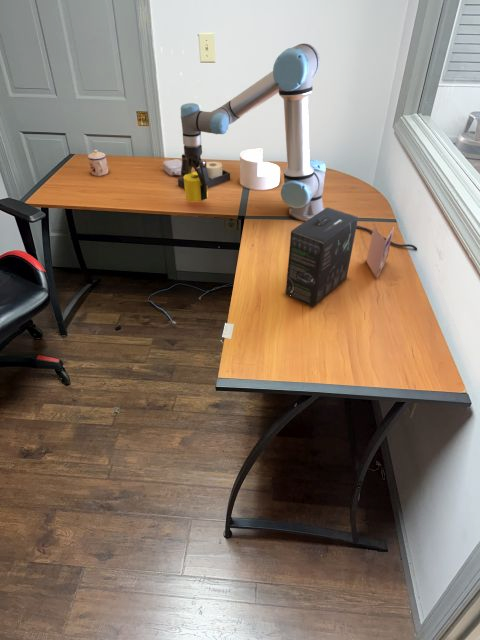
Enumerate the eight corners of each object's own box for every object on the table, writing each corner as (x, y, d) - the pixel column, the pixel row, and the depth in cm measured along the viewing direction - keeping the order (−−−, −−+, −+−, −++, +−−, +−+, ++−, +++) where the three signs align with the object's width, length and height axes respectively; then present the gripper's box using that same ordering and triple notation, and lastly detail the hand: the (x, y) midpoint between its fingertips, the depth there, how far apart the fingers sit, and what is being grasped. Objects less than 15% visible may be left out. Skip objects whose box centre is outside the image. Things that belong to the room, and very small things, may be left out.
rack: (230, 179, 221) (230, 172, 218) (193, 193, 208) (193, 186, 206) (214, 173, 227) (214, 166, 225) (178, 185, 215) (177, 178, 213)
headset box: (318, 266, 159) (328, 200, 143) (347, 278, 154) (361, 210, 137) (283, 295, 146) (289, 225, 129) (314, 309, 140) (324, 238, 124)
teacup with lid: (89, 171, 229) (84, 149, 221) (106, 168, 232) (102, 146, 225) (95, 179, 221) (90, 156, 213) (112, 176, 224) (108, 153, 217)
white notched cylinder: (277, 191, 210) (279, 163, 202) (236, 188, 213) (236, 161, 204) (281, 175, 225) (282, 149, 217) (243, 173, 228) (243, 147, 219)
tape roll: (208, 192, 200) (206, 172, 194) (207, 201, 192) (206, 180, 186) (186, 192, 200) (184, 172, 193) (184, 202, 192) (182, 181, 186)
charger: (174, 180, 220) (163, 170, 230) (190, 177, 224) (179, 167, 234) (173, 171, 217) (162, 161, 227) (190, 167, 220) (178, 158, 230)
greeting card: (379, 279, 153) (388, 241, 144) (358, 273, 156) (366, 236, 146) (387, 263, 161) (396, 227, 151) (367, 258, 164) (375, 222, 154)
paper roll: (226, 178, 220) (225, 164, 216) (212, 183, 216) (211, 169, 211) (214, 173, 226) (213, 160, 221) (200, 178, 221) (199, 164, 216)
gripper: (217, 149, 177) (219, 200, 191) (183, 136, 189) (187, 186, 204) (203, 153, 173) (206, 205, 187) (169, 140, 185) (174, 190, 200)
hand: (196, 195), depth 195 cm, fingers closed on tape roll, 10 cm apart
